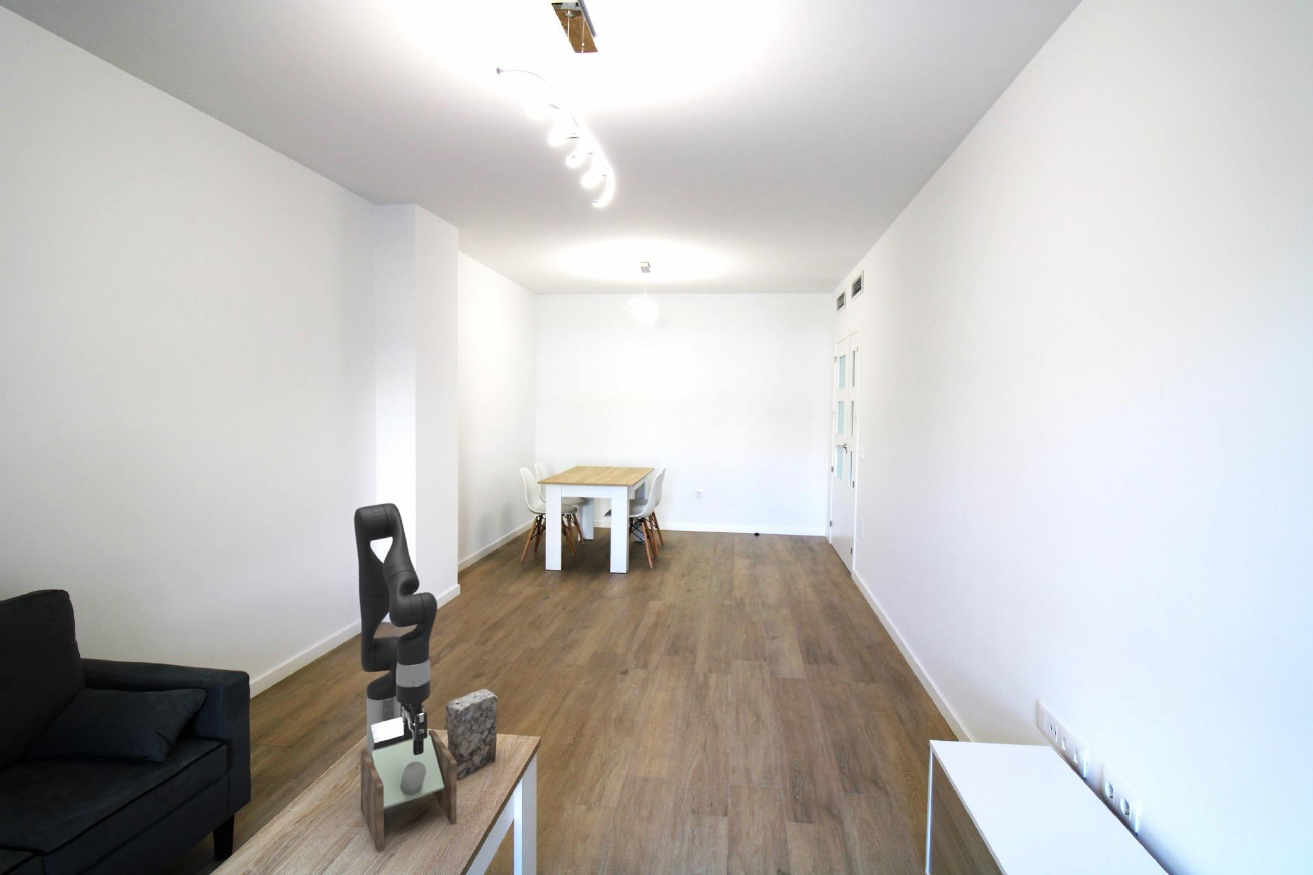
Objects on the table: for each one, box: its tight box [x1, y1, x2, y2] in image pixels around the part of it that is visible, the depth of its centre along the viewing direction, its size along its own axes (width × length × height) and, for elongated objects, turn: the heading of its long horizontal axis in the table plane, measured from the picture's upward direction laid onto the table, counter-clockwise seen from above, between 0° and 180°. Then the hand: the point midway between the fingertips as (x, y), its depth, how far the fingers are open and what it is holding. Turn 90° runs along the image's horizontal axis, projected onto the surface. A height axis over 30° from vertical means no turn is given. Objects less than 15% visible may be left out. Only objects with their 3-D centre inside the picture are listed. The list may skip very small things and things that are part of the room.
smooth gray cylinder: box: [400, 762, 426, 795], centre depth 148 cm, size 5×5×6 cm
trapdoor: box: [369, 717, 444, 810], centre depth 155 cm, size 21×14×3 cm
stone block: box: [445, 688, 499, 780], centre depth 173 cm, size 13×7×20 cm, turn 145°
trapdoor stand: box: [360, 729, 458, 853], centre depth 152 cm, size 18×18×15 cm
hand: (413, 745), depth 148 cm, fingers open, 8 cm apart
